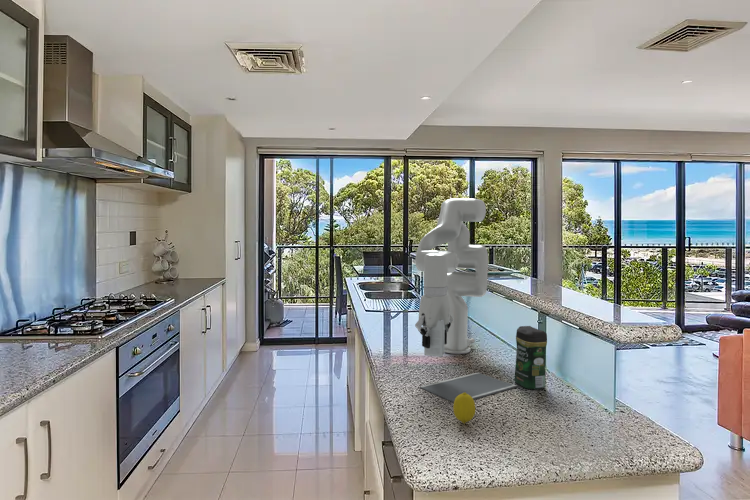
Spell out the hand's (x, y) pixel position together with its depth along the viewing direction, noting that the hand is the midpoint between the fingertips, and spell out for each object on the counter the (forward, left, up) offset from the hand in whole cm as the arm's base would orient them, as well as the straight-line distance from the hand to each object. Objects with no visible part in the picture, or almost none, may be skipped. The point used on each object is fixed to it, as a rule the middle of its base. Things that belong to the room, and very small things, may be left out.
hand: (434, 344), depth 157 cm
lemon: (+18, +31, -11) cm, 37 cm away
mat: (-3, +13, -11) cm, 17 cm away
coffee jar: (-21, +22, -11) cm, 32 cm away
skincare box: (0, 0, -3) cm, 3 cm away
